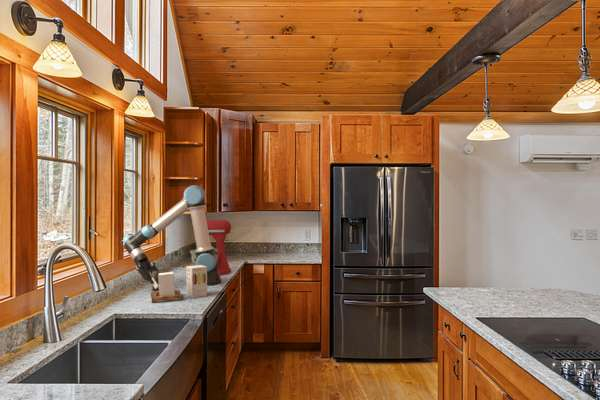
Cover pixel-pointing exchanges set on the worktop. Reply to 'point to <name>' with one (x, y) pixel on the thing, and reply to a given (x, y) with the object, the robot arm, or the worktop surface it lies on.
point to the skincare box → (166, 284)
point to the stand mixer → (218, 243)
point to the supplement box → (196, 281)
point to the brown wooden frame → (158, 298)
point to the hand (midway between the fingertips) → (159, 286)
